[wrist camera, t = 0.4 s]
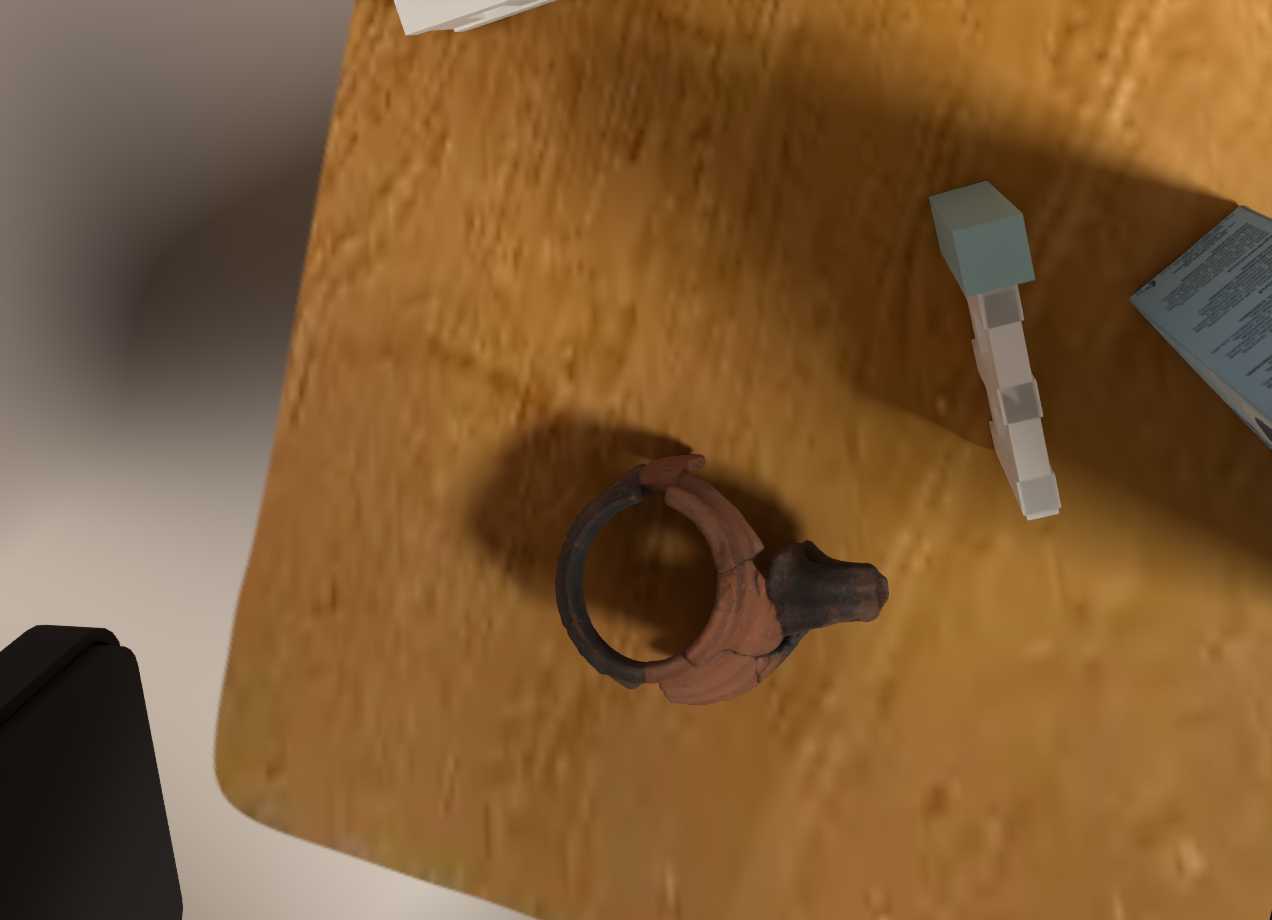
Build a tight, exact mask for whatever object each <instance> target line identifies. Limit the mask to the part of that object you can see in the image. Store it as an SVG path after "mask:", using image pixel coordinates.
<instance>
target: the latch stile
mask: <svg viewBox="0 0 1272 920" xmlns="http://www.w3.org/2000/svg"><path fill="white" fill-rule="evenodd" d="M929 202H930V206H931V211H932V216H933V220H934V225H935V229H936V234H937V239H938V243H939V248H940V252H941V254H942V256H943V257H944V259H945V261H946V263H947V264H948V266H949V268H950V270H951V271H952V273H953V275H954V277H955V279H956V280H957V282H958V284H959V286H960V287H961V289H962V291H963V293H964V294H965V296H966V297H970V296H974V295H978V294H982V293H986V292H990V291H994V290H998V289H1002V288H1005V287H1009V286H1013V285H1017V284H1021V283H1025V282H1029V281H1033V280H1035V275H1034V270H1033V265H1032V259H1031V254H1030V249H1029V244H1028V239H1027V234H1026V228H1025V223H1024V218H1023V213H1022V212H1021V211H1019V210H1018V209H1017V208H1016V207H1015V206H1014V205H1013V204H1012V203H1011V202H1010V201H1009V200H1008V199H1006V198H1005V197H1004V196H1003V195H1002V194H1001V193H1000V192H999V191H998V190H997V189H996V188H995V187H994V186H992V185H991V184H990V183H989V182H988V181H983V182H979V183H976V184H972V185H969V186H965V187H961V188H958V189H954V190H950V191H947V192H943V193H940V194H936V195H932V196H929Z"/></svg>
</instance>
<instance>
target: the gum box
mask: <svg viewBox="0 0 1272 920" xmlns="http://www.w3.org/2000/svg"><path fill="white" fill-rule="evenodd" d="M1130 303H1131V304H1132V305H1133V306H1134V307H1135V308H1136V309H1137V310H1138V311H1139V312H1140V313H1141V314H1142V315H1143V316H1144V317H1145V318H1146V319H1147V320H1148V321H1149V322H1150V324H1151V325H1152V326H1153V327H1154V328H1155V329H1156V330H1157V331H1158V332H1159V333H1160V334H1161V335H1162V336H1163V338H1164V339H1165V340H1166V341H1167V342H1168V343H1169V344H1170V345H1171V346H1172V347H1173V348H1174V349H1175V350H1176V351H1177V352H1178V354H1179V355H1180V356H1181V357H1182V358H1183V359H1184V360H1185V361H1186V362H1187V363H1188V364H1189V365H1190V366H1191V367H1192V368H1193V370H1194V371H1195V372H1196V373H1197V374H1198V375H1199V376H1200V377H1201V378H1202V379H1203V380H1204V381H1205V382H1206V383H1207V384H1208V385H1209V386H1210V387H1211V388H1212V389H1213V390H1214V391H1215V393H1216V394H1217V395H1218V396H1219V397H1220V398H1221V399H1222V400H1223V401H1224V402H1225V403H1226V404H1227V405H1228V406H1229V407H1230V408H1231V409H1232V410H1233V411H1234V412H1235V413H1236V414H1237V415H1238V416H1239V417H1240V418H1241V419H1242V420H1243V421H1244V423H1245V424H1246V425H1247V426H1248V427H1249V428H1250V429H1251V430H1252V431H1253V432H1254V433H1255V434H1256V435H1257V436H1258V437H1259V438H1260V439H1261V440H1262V441H1263V442H1264V443H1265V444H1266V445H1267V446H1268V447H1269V448H1270V449H1271V450H1272V218H1269V217H1267V216H1265V215H1262V214H1260V213H1258V212H1256V211H1254V210H1252V209H1250V208H1249V207H1247V206H1239V207H1238V208H1237V209H1235V210H1234V211H1233V212H1232V213H1231V214H1229V215H1228V216H1227V217H1226V218H1225V219H1223V220H1222V221H1221V222H1220V223H1219V224H1218V225H1216V226H1215V227H1214V228H1213V229H1212V230H1210V231H1209V232H1208V233H1207V234H1206V235H1204V236H1203V237H1202V238H1201V239H1200V240H1199V241H1198V242H1196V243H1195V244H1194V245H1193V246H1192V247H1191V248H1190V249H1188V250H1187V251H1186V252H1185V253H1184V254H1183V255H1181V256H1180V257H1179V258H1178V259H1177V260H1175V261H1174V262H1173V263H1172V264H1170V265H1169V266H1168V267H1167V268H1166V269H1164V270H1163V271H1162V272H1161V273H1159V274H1158V275H1157V276H1156V277H1154V278H1153V279H1152V280H1151V281H1150V282H1148V283H1147V284H1146V285H1145V286H1143V287H1142V288H1141V289H1140V290H1139V291H1137V292H1136V293H1135V294H1134V295H1132V296H1131V297H1130Z"/></svg>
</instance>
